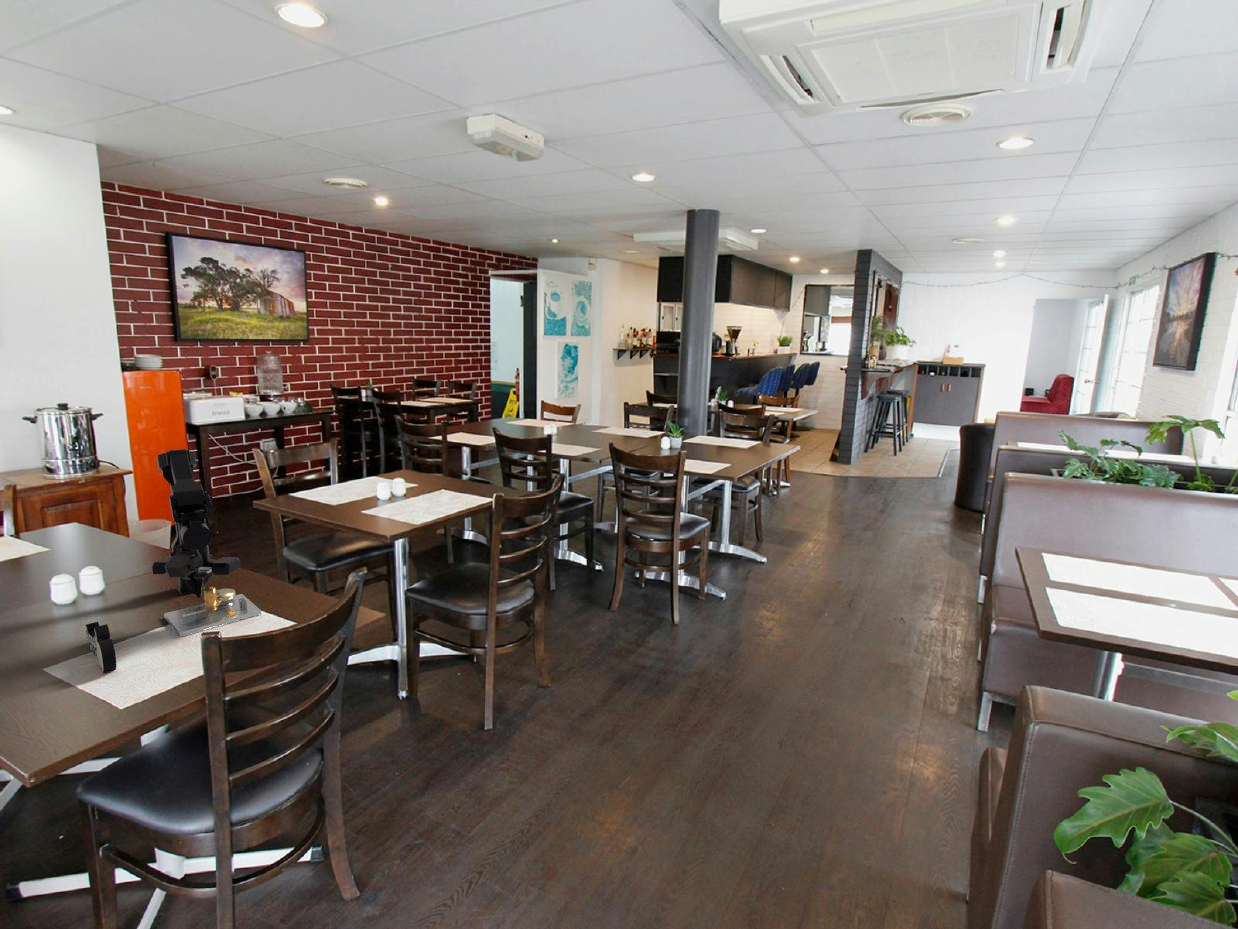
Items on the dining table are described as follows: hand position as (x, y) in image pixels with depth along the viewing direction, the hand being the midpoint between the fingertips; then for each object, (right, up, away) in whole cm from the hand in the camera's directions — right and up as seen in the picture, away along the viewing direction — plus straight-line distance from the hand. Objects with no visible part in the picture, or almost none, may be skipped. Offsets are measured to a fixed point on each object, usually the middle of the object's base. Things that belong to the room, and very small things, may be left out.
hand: (200, 597), depth 161 cm
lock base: (+1, -6, +4) cm, 7 cm away
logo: (-11, -10, -17) cm, 23 cm away
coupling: (+2, -2, +5) cm, 5 cm away
